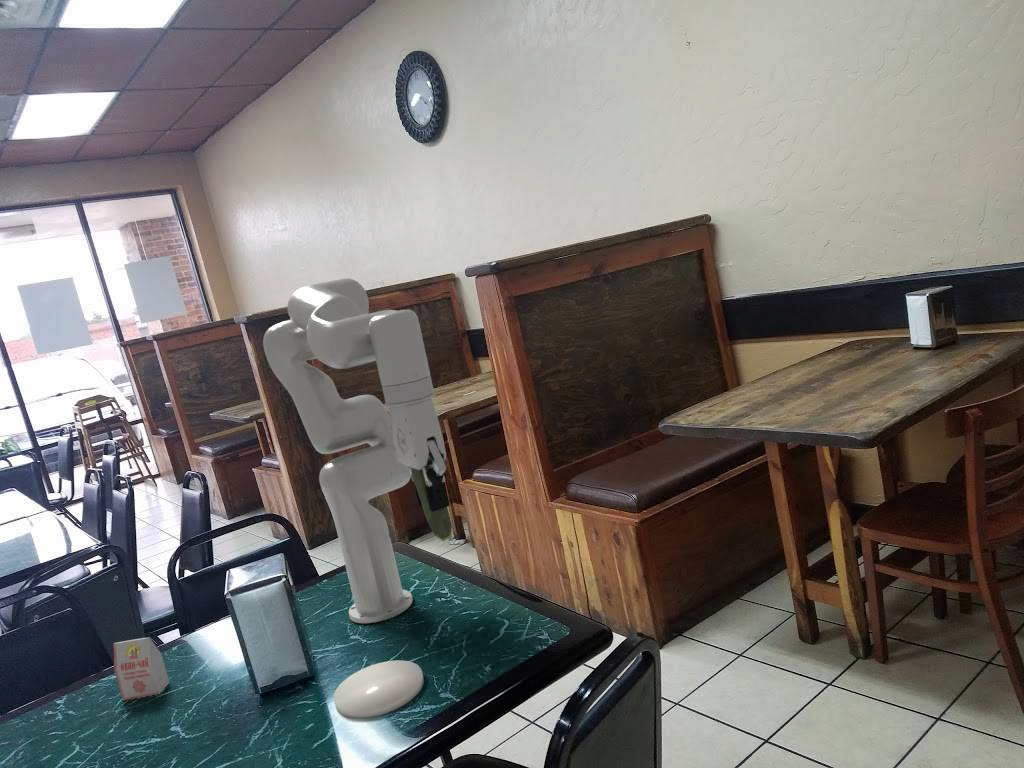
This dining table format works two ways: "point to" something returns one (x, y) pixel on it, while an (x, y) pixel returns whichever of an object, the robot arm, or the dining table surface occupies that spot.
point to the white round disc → (378, 689)
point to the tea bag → (139, 668)
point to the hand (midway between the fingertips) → (433, 504)
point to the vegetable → (436, 519)
